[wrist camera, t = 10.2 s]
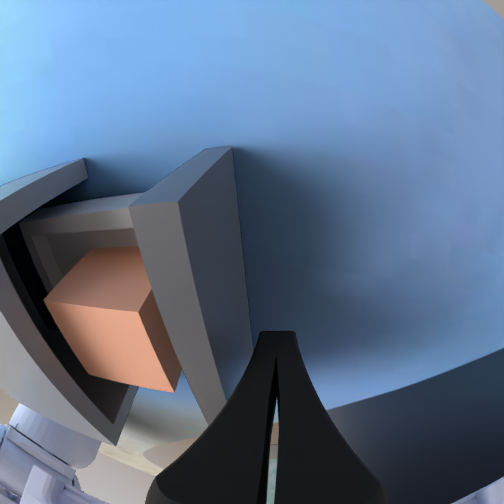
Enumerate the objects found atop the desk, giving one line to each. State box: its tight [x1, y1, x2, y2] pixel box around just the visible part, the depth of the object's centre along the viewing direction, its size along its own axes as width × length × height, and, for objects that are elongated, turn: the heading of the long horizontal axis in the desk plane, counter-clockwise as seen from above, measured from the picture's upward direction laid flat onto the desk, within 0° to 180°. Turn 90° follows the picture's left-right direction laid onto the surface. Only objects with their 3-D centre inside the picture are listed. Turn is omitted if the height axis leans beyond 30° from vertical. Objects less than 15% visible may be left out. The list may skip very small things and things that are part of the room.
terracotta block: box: [44, 247, 182, 392], centre depth 11 cm, size 4×4×4 cm
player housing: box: [0, 158, 139, 446], centre depth 11 cm, size 13×11×7 cm
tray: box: [19, 146, 254, 425], centre depth 11 cm, size 12×11×6 cm
